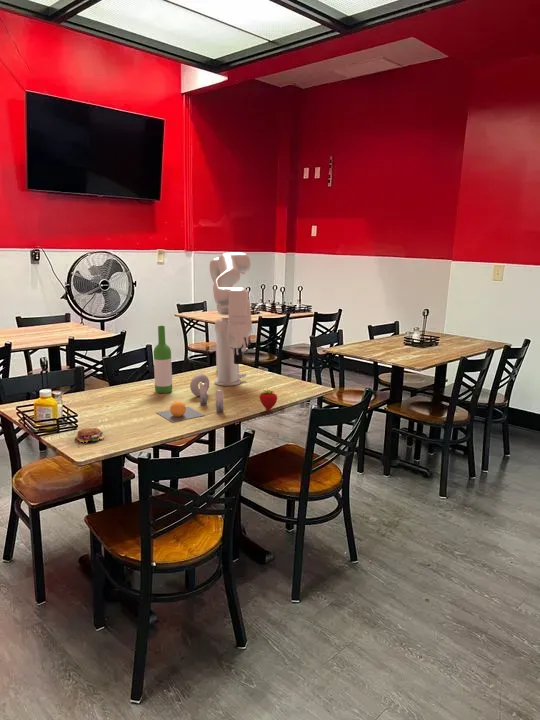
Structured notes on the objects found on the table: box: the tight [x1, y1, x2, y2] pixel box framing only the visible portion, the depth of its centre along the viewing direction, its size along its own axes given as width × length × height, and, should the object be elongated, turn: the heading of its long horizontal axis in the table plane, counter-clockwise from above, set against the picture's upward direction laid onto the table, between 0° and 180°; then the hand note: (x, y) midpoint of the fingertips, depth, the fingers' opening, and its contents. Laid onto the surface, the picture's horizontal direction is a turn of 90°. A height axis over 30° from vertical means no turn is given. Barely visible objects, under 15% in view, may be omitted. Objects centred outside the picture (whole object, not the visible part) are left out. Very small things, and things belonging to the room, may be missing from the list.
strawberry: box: [259, 389, 278, 412], centre depth 214 cm, size 6×8×10 cm
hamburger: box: [75, 427, 105, 443], centre depth 181 cm, size 14×14×6 cm
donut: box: [189, 373, 210, 397], centre depth 235 cm, size 10×4×10 cm, turn 138°
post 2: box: [215, 389, 224, 414], centre depth 211 cm, size 3×3×9 cm
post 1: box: [199, 382, 208, 406], centre depth 222 cm, size 3×3×9 cm
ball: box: [169, 401, 187, 417], centre depth 206 cm, size 6×6×6 cm
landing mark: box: [156, 406, 206, 423], centre depth 210 cm, size 14×14×1 cm
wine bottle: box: [153, 325, 173, 394], centre depth 240 cm, size 8×8×30 cm
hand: (238, 363), depth 222 cm, fingers closed
